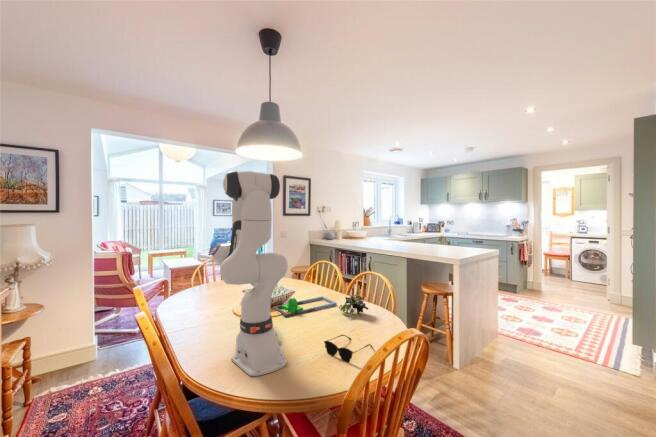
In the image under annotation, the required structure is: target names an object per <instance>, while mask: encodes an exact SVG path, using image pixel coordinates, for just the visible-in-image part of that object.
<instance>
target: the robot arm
mask: <svg viewBox="0 0 656 437" xmlns="http://www.w3.org/2000/svg"><path fill="white" fill-rule="evenodd" d="M222 180H223V181H222V188H223V190H224V194H225V195H227V196H228V198H230V199H232V208H231V210H232V211H231V213H232V216H231V218H232V222H231V236H230V237H231V238H230V242H229V243H220V244H219V245H217V247H215V249H214V250H213V252H212V254H211V257H212V259H213V261H215V263H217V264H218V265H219V266H220V267H219V268H220V269H219V274H220V275H219V276H220V278H221V279H222V281H223V282H224V283H225V284H226V285H238V286H240V285H249V284H250V285H251V286H252V287H253V288H252V289H251V290H249V291H248V292H247V293H245V294H244V295H243V297H242V298H241V301H240V308H241V310H240V312H241V313H240V315H241V317H240V319H239V320H240V321H239V329H240V331H239V333H238V334H237V336H236V340H235V354H233V356H232V357H231V362H233V363H234V364H235V365H236V366H238V367H239V368H240V369H241V370H242V371H243V372H245V373H246V375H248V376H250V377H256V376H263V375H267V374H270V373H273V372H276V371H279V370H280V369H282V368H284V367H286V365H287V364H288V362H287V358H286V356H285V354H284V352H283V350H282V347H281V346H283V340H282V339H278V338H277V337H278V333H277V332H275V329H274V328H275V327H274V326H273V324H274V323H273V318H272V314H271V308H272V306H271V305H272V296H273V292H274V291H275V290H274V289H275V288H276V286H277V285H278V283H279V281H281V279H283V278H284V277H285V276H286V275H287V273H288V269H289V264H288V263H289V262H288V260H287V258H286V257H285V255H284V254H282V253H275V252H266V253H265V252H262V253H257V252H258V250H259V249H260V248H261V247H263V246H264V245H266V244H268V243H269V241H270V240H271V238H272V221H273V220H272V219H273V218H272V217H273V214H272V203H271V200H272V199H273V200H274V199H276V198H277V197H278V196H279V194H280V191H281V190H280V189H281V182H280V179H279V177H278V175H275V174H272V173H263V172H255V171H251V170H250V171H249V170H247V171H246V170H245V171H244V170H242V171H241V170H239V171H237V170H230V171H227V173H226V174H225V176H224V178H223V179H222Z"/></svg>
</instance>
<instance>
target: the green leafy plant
mask: <svg viewBox="0 0 656 437" xmlns="http://www.w3.org/2000/svg"><path fill="white" fill-rule="evenodd" d="M338 309H339V310H340V311H341V312H343V313H344V312H345V315H348V312H349V313H350V314H349V317H351V316H352V315H353V313H354V312H355V311H357V313H359V312H360V313H364V309H365V310H369V307H368V306H366V303H365V302H364V300H363V298H362V296H360V295H358V294H354V295H351V296H349V297H347V296H345V302H344V304H343V305H342V304H340V305H339V307H338Z"/></svg>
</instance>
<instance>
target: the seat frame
mask: <svg viewBox="0 0 656 437" xmlns="http://www.w3.org/2000/svg"><path fill="white" fill-rule="evenodd" d="M285 304H286V303H284V304H279V305H275V306H273V310H275V311H276V312H277V311H278V312H277V313H279V312H280V313H281V314H280V313H279V314H280V315H282V316H283V318H288V317H294V316H297V315H302V314H307V313H311V312H314V311H316V310H315V308H313V307H311V308H306V309H303V310H301V311H297V312H292V313H291V312H288V313H286V312H285V310H283V309H282V305H285ZM301 304H304V303H303V302H302V300H299V301H297V306H299V305H301Z"/></svg>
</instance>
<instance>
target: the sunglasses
mask: <svg viewBox="0 0 656 437" xmlns="http://www.w3.org/2000/svg"><path fill="white" fill-rule="evenodd" d="M343 336H344V337H346V338H347V339H348V340H352V338H351V337H349V336H348V335H345V334H339V335H338V336H334V337H333V338H330V339H327V340H324V341H323V343H324V346H325V349H326V353H327V354H328V355H330V356H333V357H334V356H336V354H337V352H338V355H339V356H340V359H341V360H342V361H345V362H347V363H350V361H351V360H352V357H353V355H354V354H356V353H357V352H359V351H361V350H363V349H365V348H367V347H369V346H370V348H371V347H372V348H373V345H372V344H370V343H368V344H366V345H364V346H363V347H361V348H359V349H357V350H354V351H353V350H351V349H349V348H347V347H340V348H339V347H338V346H337V345H336V344H335V343H334V342H331V341H332V340H335V339H337V338H340V337H343Z"/></svg>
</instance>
